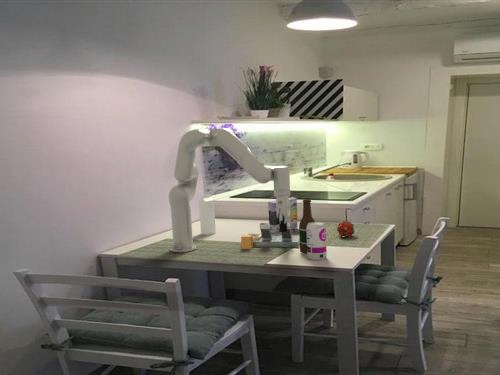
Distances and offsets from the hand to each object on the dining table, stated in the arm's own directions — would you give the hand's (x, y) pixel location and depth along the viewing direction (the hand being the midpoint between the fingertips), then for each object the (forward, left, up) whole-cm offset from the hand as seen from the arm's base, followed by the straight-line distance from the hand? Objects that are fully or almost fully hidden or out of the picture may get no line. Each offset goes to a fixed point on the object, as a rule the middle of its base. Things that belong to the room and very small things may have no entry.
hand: (283, 231), depth 218 cm
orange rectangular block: (+1, +18, -8) cm, 20 cm away
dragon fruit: (+28, -27, -9) cm, 40 cm away
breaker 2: (+9, 0, -5) cm, 10 cm away
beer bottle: (-4, -12, -8) cm, 15 cm away
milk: (+32, +49, -8) cm, 59 cm away
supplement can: (-14, -17, -8) cm, 24 cm away
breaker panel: (+11, +8, -8) cm, 16 cm away
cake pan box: (+41, +8, -9) cm, 42 cm away
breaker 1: (+9, +10, -5) cm, 14 cm away
